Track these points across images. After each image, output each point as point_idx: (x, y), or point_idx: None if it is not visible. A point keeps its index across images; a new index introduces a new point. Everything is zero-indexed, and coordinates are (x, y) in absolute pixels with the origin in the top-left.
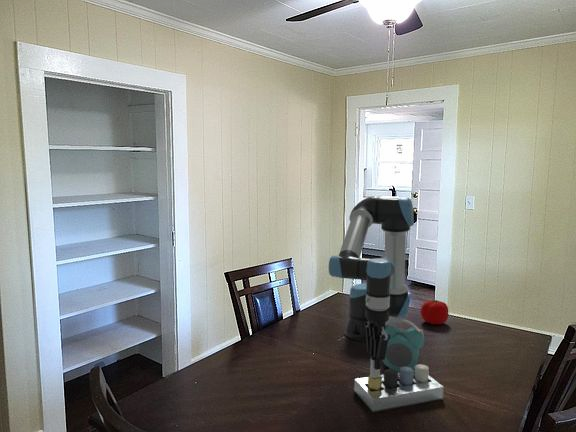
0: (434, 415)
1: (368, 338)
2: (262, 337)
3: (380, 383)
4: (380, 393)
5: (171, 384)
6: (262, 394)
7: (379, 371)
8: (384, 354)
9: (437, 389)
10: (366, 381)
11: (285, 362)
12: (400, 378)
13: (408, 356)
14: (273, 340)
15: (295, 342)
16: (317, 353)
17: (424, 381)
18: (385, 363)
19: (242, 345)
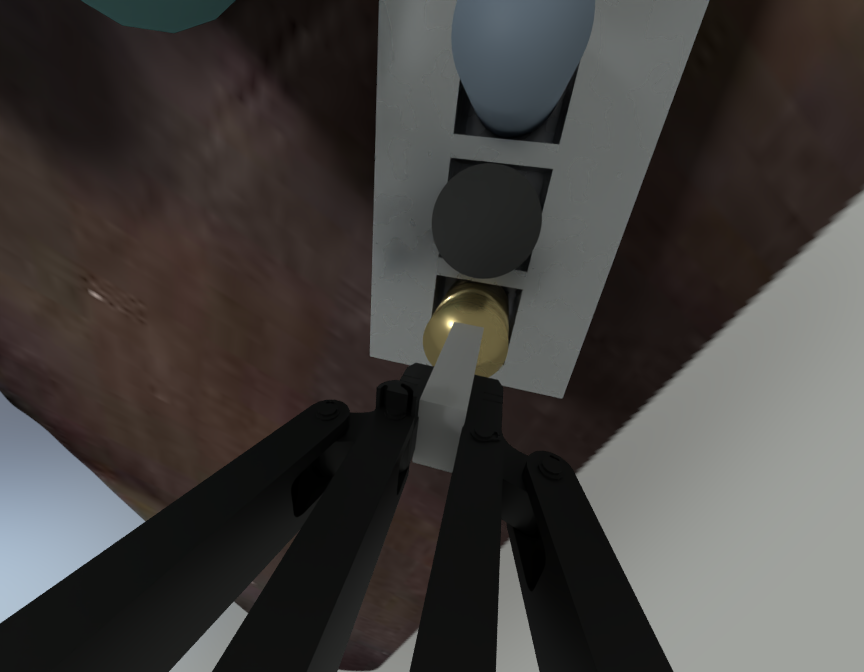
0: (806, 77)
1: (214, 615)
2: (13, 380)
3: (506, 325)
4: (542, 338)
5: None
6: None
7: (479, 348)
8: (603, 554)
9: None
10: (409, 322)
11: (168, 409)
12: (502, 125)
13: None
14: (25, 363)
15: (22, 307)
16: (95, 282)
17: None
18: (208, 13)
19: (77, 446)
